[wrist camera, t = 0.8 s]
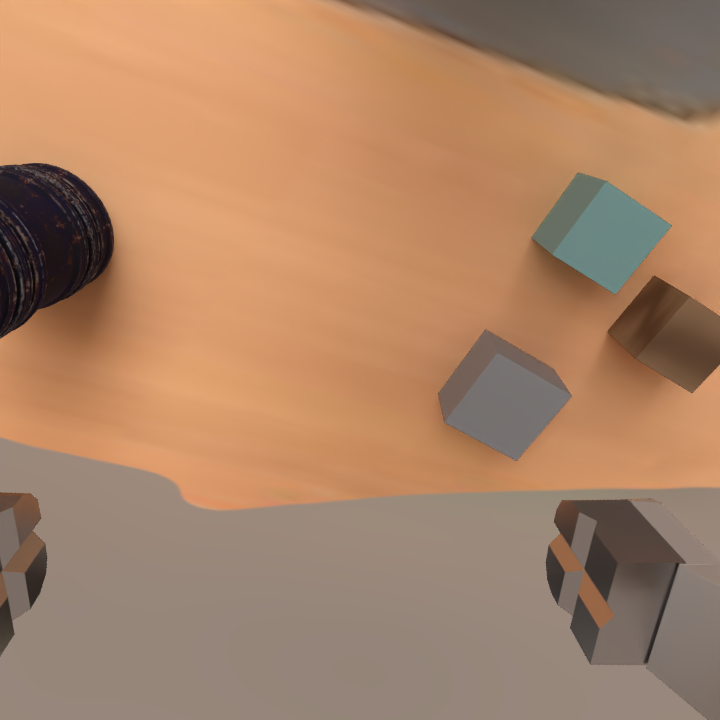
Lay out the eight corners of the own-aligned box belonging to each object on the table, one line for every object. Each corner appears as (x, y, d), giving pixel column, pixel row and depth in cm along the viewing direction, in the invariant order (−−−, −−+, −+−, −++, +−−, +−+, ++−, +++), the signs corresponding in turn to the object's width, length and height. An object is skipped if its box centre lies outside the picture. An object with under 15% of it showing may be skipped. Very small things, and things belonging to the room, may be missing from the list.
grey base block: (485, 328, 45) (497, 352, 41) (552, 368, 47) (572, 395, 42) (438, 392, 48) (444, 422, 43) (503, 428, 49) (516, 461, 45)
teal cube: (577, 172, 40) (606, 181, 35) (635, 211, 41) (671, 225, 36) (531, 237, 42) (552, 254, 37) (587, 273, 43) (615, 294, 38)
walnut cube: (653, 275, 43) (690, 296, 38) (705, 309, 44) (748, 334, 39) (606, 331, 45) (635, 358, 40) (657, 362, 46) (692, 393, 41)
